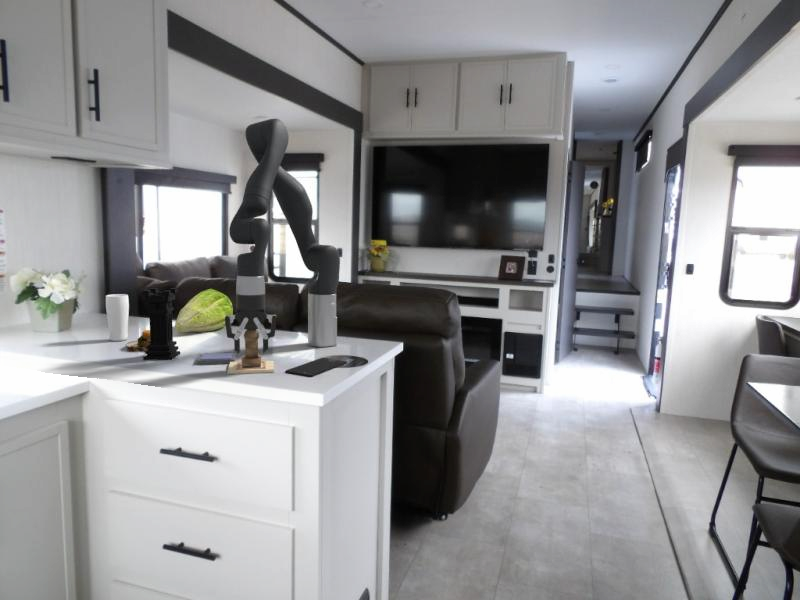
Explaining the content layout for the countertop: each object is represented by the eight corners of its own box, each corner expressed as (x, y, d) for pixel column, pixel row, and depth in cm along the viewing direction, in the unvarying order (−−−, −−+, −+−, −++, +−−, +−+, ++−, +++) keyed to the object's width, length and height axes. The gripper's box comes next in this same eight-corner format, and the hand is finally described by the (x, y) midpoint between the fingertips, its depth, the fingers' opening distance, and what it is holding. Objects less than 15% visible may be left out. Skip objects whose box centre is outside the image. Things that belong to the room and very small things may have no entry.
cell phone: (347, 364, 162) (347, 361, 162) (311, 378, 146) (311, 375, 146) (322, 360, 166) (322, 357, 166) (284, 374, 150) (284, 370, 150)
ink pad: (235, 357, 165) (235, 352, 165) (234, 363, 158) (234, 358, 158) (200, 357, 163) (200, 353, 163) (196, 364, 155) (196, 359, 155)
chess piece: (153, 353, 167) (150, 287, 164) (180, 353, 168) (178, 288, 165) (143, 359, 159) (140, 290, 157) (171, 360, 160) (169, 291, 157)
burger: (153, 343, 183) (152, 320, 182) (174, 348, 176) (173, 325, 175) (117, 349, 173) (116, 325, 172) (137, 354, 166) (137, 330, 165)
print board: (273, 363, 159) (273, 359, 159) (274, 372, 150) (273, 368, 149) (230, 364, 156) (230, 361, 156) (227, 373, 147) (227, 370, 147)
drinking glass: (102, 340, 183) (100, 295, 181) (119, 337, 189) (118, 293, 187) (117, 342, 180) (115, 297, 178) (134, 339, 186) (133, 295, 184)
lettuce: (203, 350, 193) (170, 351, 200) (243, 317, 213) (212, 318, 220) (187, 313, 188) (153, 315, 194) (230, 282, 208) (198, 285, 214)
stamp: (261, 363, 156) (261, 326, 155) (260, 367, 151) (260, 330, 150) (242, 363, 155) (242, 327, 153) (241, 368, 150) (241, 330, 149)
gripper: (277, 290, 156) (277, 348, 158) (224, 290, 152) (225, 350, 154) (278, 293, 148) (278, 354, 150) (221, 294, 145) (223, 356, 147)
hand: (251, 352), depth 152 cm, fingers open, 6 cm apart
